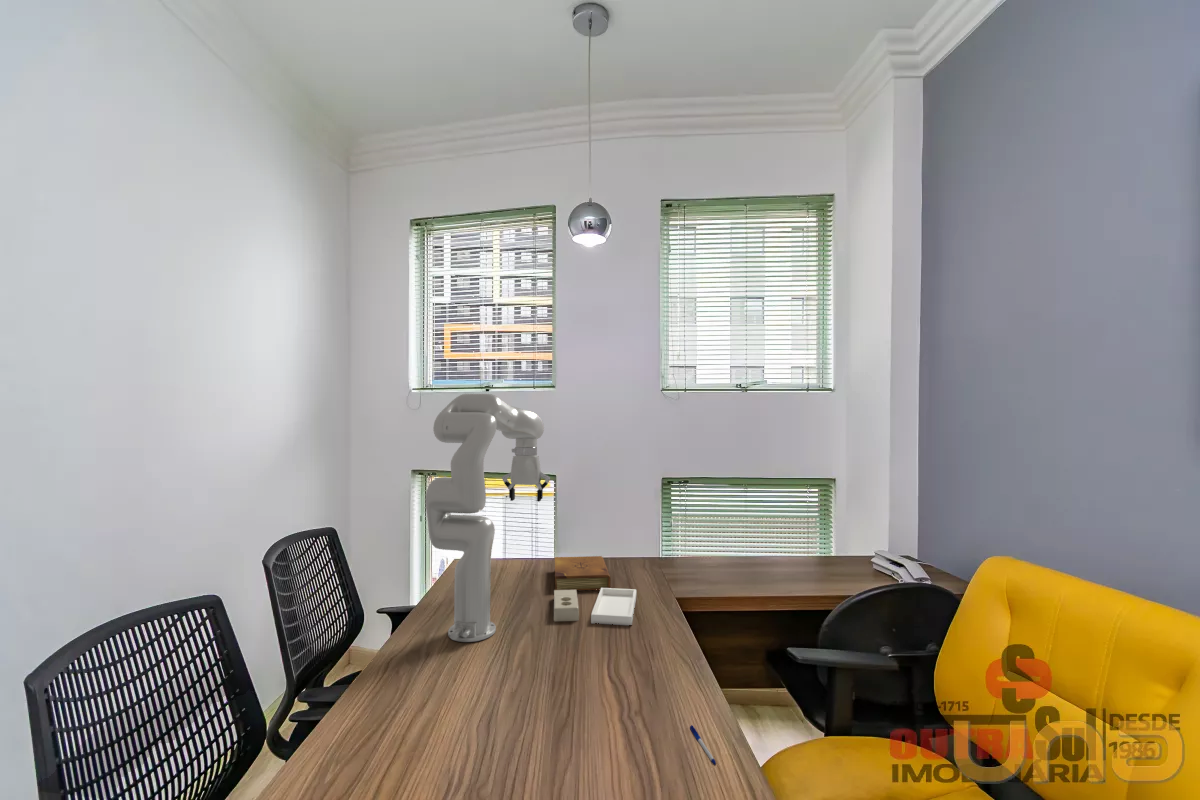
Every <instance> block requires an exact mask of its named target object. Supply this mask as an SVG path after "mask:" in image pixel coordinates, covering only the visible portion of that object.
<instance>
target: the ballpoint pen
mask: <svg viewBox="0 0 1200 800" xmlns="http://www.w3.org/2000/svg"><path fill="white" fill-rule="evenodd" d="M689 729H690V731H691V732H692V734H693V736H694V737H695V739H696V740H697V742H698V743H699V745H700V746H701V748H702V749H703V751H704V752H705V754H706V755H707V757H708V758H709V760H710V762H711V763H712V764H713V765H716V764H717V762H716V759H715V758H714V757H713V754H712V753H711V752H710V751H709V749H708V747H707V746H706V744H705V743H704V741H703V740H702V738H701V736H700V735H699V733H698V731H697V729H696V728H695V727H694V725H693V724H691V725H690V726H689Z"/></svg>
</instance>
